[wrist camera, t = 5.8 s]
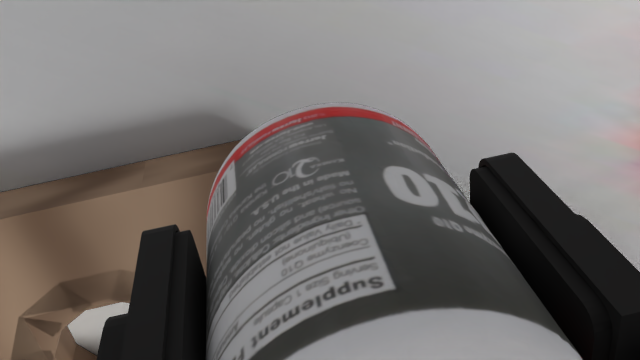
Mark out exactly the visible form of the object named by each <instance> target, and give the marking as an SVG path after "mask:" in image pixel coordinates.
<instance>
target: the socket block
mask: <svg viewBox="0 0 640 360" xmlns="http://www.w3.org/2000/svg"><path fill="white" fill-rule="evenodd" d="M240 141H242V140H238V141H233V142H229V143H224V144H220V145H215V146H211V147H206V148H201V149H197V150H192V151H188V152H183V153H179V154H174V155H169V156H165V157H160V158H156V159H151V160H147V161H142V162H137V163H133V164H128V165H124V166H119V167H115V168H110V169H105V170H101V171H96V172H92V173H87V174H83V175H78V176H73V177H69V178H64V179H60V180H55V181H51V182H46V183H41V184H37V185H32V186H28V187H23V188H19V189H14V190H9V191H5V192H0V360H97V356H96V355H94V354H93V353H91V352H89V351H87V350H86V349H84V348H82V347H81V346H79V345H77V344H76V342H75V340H74V338H73V336H72V334H71V332H70V331H69V329H68V327H67V325H68V324H69V323H70V322H72V321H73V320H74V319H75V318H77V317H78V316H79V315H80V314H81V313H83V312H84V311H85V310H89V309H93V308H98V307H102V306H106V305H110V304H115V303H119V302H126V303H130V299H131V293H132V287H133V281H134V275H135V269H136V263H137V257H138V252H139V246H140V240H141V235H142V232H143V231H145V230H150V229H155V228H159V227H164V226H169V225H174V224H176V225H177V226H178V228H179V230H180V232H181V231H186V230H190V231H191V233H192V235H193V238H194V241H195V244H196V247H197V250H198V253H199V257H200V260H201V263H202V266H203V269H204V272H205V275H206V268H207V254H206V241H207V238H206V236H207V207H208V201H209V196H210V192H211V189H212V186H213V183H214V180H215V178H216V176H217V173H218V171H219V170H220V168H221V166H222V164H223V163H224V161H225V160H226V158H227V157H228V155H229V154H230V153H231V151H232V150H233V149H234V148H235V147H236V145H237V144H238V143H239V142H240Z"/></svg>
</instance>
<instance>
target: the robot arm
mask: <svg viewBox="0 0 640 360" xmlns="http://www.w3.org/2000/svg"><path fill="white" fill-rule="evenodd" d="M470 204H471V205H472V207H473V208H474V209H475V210H476V212H477V213H478V214H479V216H480V217H481V219H482V220H483V222H484V223H485V225H486V226H487V227H488V229H489V230H490V232H491V233H492V235H493V236H494V237H495V238H496V240H497V241H498V242H499V244H500V245H501V247H502V248H503V250H504V251H505V253H506V254H507V255H508V257H509V258H510V259H511V261H512V262H513V263H514V264H515V266H516V267H517V269H518V270H519V271H520V273H521V274H522V276H523V277H524V279H525V280H526V281H527V283H528V284H529V286H530V287H531V288H532V290H533V291H534V292H535V294H536V295H537V297H538V298H539V299H540V301H541V302H542V303H543V305H544V306H545V308H546V309H547V310H548V312H549V313H550V315H551V316H552V317H553V319H554V320H555V321H556V323H557V324H558V326H559V327H560V328H561V330H562V331H563V333H564V334H565V335H566V337H567V338H568V339H569V341H570V342H571V343H572V345H573V346H574V347H575V348H576V350H577V351H578V353H579V354H580V356H581V357H582V359H583V360H640V272H639V271H638V270H637V269H636V268H635V267H634V266H633V265H632V264H631V263H630V262H629V261H628V260H627V259H626V258H625V257H624V256H623V255H622V254H621V253H620V252H619V251H618V250H617V249H616V248H615V247H614V246H613V245H612V244H611V243H610V242H609V241H608V240H607V239H606V238H605V237H604V236H603V235H602V234H601V233H600V232H599V231H598V230H597V229H596V228H595V227H594V226H593V225H592V224H591V223H590V222H589V221H588V220H587V219H585V218H584V217H583V216H581V215H577V214H574V212H573V211H572V210H571V209H570V208H569V207H568V206H567V205H566V204H565V203H564V202H563V201H562V200H561V199H560V198H559V197H558V196H557V195H556V194H555V193H554V192H553V191H552V190H551V189H550V188H549V187H548V186H547V185H546V184H545V183H544V182H543V181H542V180H541V179H540V178H539V177H538V176H537V175H536V174H535V173H534V172H533V171H532V170H531V169H530V168H529V167H528V166H527V164H526V163H525V162H524V161H523V160H522V159H521V158H520V157H519V156H518V155H516V154H515V153H508V154H503V155H499V156H494V157H489V158H484V159H482V160H481V161H480V163H479V168H477V169H472V170H471V173H470ZM206 288H207V285H206V275H205V272H204V269H203V266H202V263H201V260H200V257H199V253H198V250H197V247H196V244H195V241H194V238H193V235H192V233H191V231H190V230H186V231H181V232H180V230H179V228H178V226H177V225H176V224H174V225H169V226H164V227H159V228H155V229H150V230H145V231H143V232H142V235H141V240H140V246H139V252H138V257H137V263H136V269H135V275H134V281H133V287H132V293H131V299H130V305H129V311H128V313H127V314H122V315H118V316H113V317H109V318H108V319H107V320H106V322H105V325H104V328H103V332H102V337H101V341H100V346H99V351H98V355H97V360H206Z"/></svg>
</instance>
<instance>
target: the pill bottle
mask: <svg viewBox="0 0 640 360" xmlns="http://www.w3.org/2000/svg"><path fill="white" fill-rule="evenodd" d="M206 238H207V241H206V254H207V268H206V285H207V288H206V360H583V359H582V357H581V356H580V354H579V353H578V351H577V350H576V348H575V347H574V346H573V345H572V343H571V342H570V341H569V339H568V338H567V337H566V335H565V334H564V333H563V331H562V330H561V328H560V327H559V326H558V324H557V323H556V321H555V320H554V319H553V317H552V316H551V315H550V313H549V312H548V310H547V309H546V308H545V306H544V305H543V303H542V302H541V301H540V299H539V298H538V297H537V295H536V294H535V292H534V291H533V290H532V288H531V287H530V286H529V284H528V283H527V281H526V280H525V279H524V277H523V276H522V274H521V273H520V271H519V270H518V269H517V267H516V266H515V264H514V263H513V262H512V261H511V259H510V258H509V257H508V255H507V254H506V253H505V251H504V250H503V248H502V247H501V245H500V244H499V242H498V241H497V240H496V238H495V237H494V236H493V235H492V233H491V232H490V230H489V229H488V227H487V226H486V225H485V223H484V222H483V220H482V219H481V217H480V216H479V214H478V213H477V212H476V210H475V209H474V208H473V207H472V205H471V204H470V203H469V202H468V200H467V199H466V197H465V196H464V195H463V193H462V192H461V190H460V189H459V187H458V186H457V185H456V184H455V182H454V181H453V179H452V178H451V177H450V176H449V174H448V173H447V171H446V170H445V168H444V167H443V166H442V164H441V163H440V161H439V160H438V158H437V157H436V155H435V154H434V152H433V151H432V150H431V148H430V147H429V146H428V144H427V143H425V141H424V140H423V139H422V138H421V137H420V136H419V135H418V134H417V133H416V132H415V131H414V130H413V129H412V128H410V127H409V126H408V125H406V124H405V123H404V122H402V121H401V120H399V119H397V118H396V117H394V116H392V115H390V114H388V113H386V112H383V111H380V110H377V109H374V108H371V107H368V106H364V105H359V104H352V103H323V104H316V105H311V106H307V107H303V108H299V109H296V110H293V111H290V112H287V113H285V114H283V115H280V116H278V117H275V118H273V119H271V120H269V121H267V122H266V123H264V124H262V125H261V126H259V127H258V128H256V129H255V130H254V131H252V132H251V133H250V134H248V135H247V136H246V137H245V138H244V139H243V140H242V141H240V142H239V143H238V144H237V145H236V147H235V148H234V149H233V150H232V151H231V153H230V154H229V155H228V157H227V158H226V160H225V161H224V163H223V164H222V166H221V168H220V170H219V171H218V173H217V176H216V178H215V180H214V183H213V186H212V189H211V192H210V196H209V201H208V207H207V236H206Z"/></svg>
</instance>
